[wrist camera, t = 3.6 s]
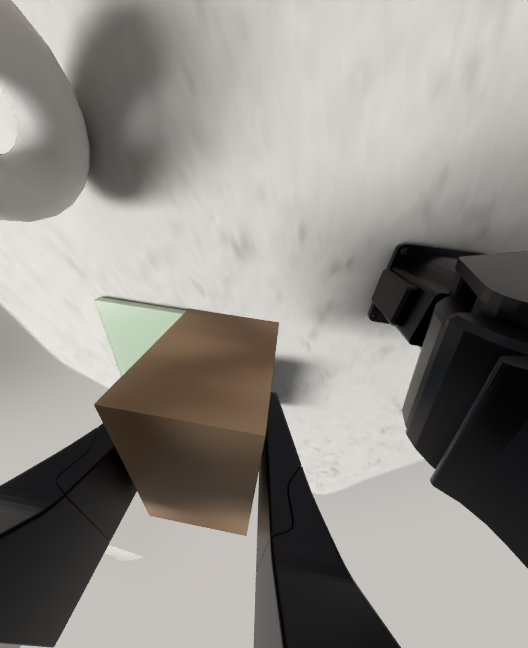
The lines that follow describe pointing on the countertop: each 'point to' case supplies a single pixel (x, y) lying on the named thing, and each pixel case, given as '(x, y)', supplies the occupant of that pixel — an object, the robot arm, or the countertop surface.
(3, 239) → the countertop surface
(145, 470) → the walnut brick
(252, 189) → the countertop surface
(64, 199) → the donut
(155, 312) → the baseplate
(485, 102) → the countertop surface
